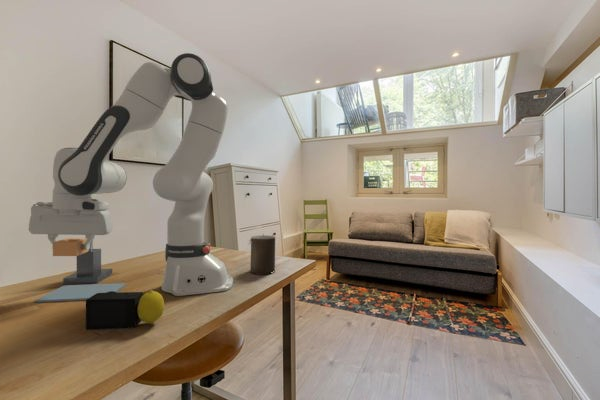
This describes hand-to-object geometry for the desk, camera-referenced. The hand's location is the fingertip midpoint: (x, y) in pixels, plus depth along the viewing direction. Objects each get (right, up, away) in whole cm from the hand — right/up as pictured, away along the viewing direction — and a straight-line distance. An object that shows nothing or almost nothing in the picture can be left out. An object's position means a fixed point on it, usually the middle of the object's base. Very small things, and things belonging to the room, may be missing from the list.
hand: (71, 249), depth 81 cm
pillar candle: (+53, -14, +28) cm, 61 cm away
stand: (-5, -13, +14) cm, 19 cm away
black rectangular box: (+25, -15, -17) cm, 33 cm away
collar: (0, -1, 0) cm, 1 cm away
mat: (+3, -13, +1) cm, 14 cm away
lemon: (+33, -15, -17) cm, 40 cm away
